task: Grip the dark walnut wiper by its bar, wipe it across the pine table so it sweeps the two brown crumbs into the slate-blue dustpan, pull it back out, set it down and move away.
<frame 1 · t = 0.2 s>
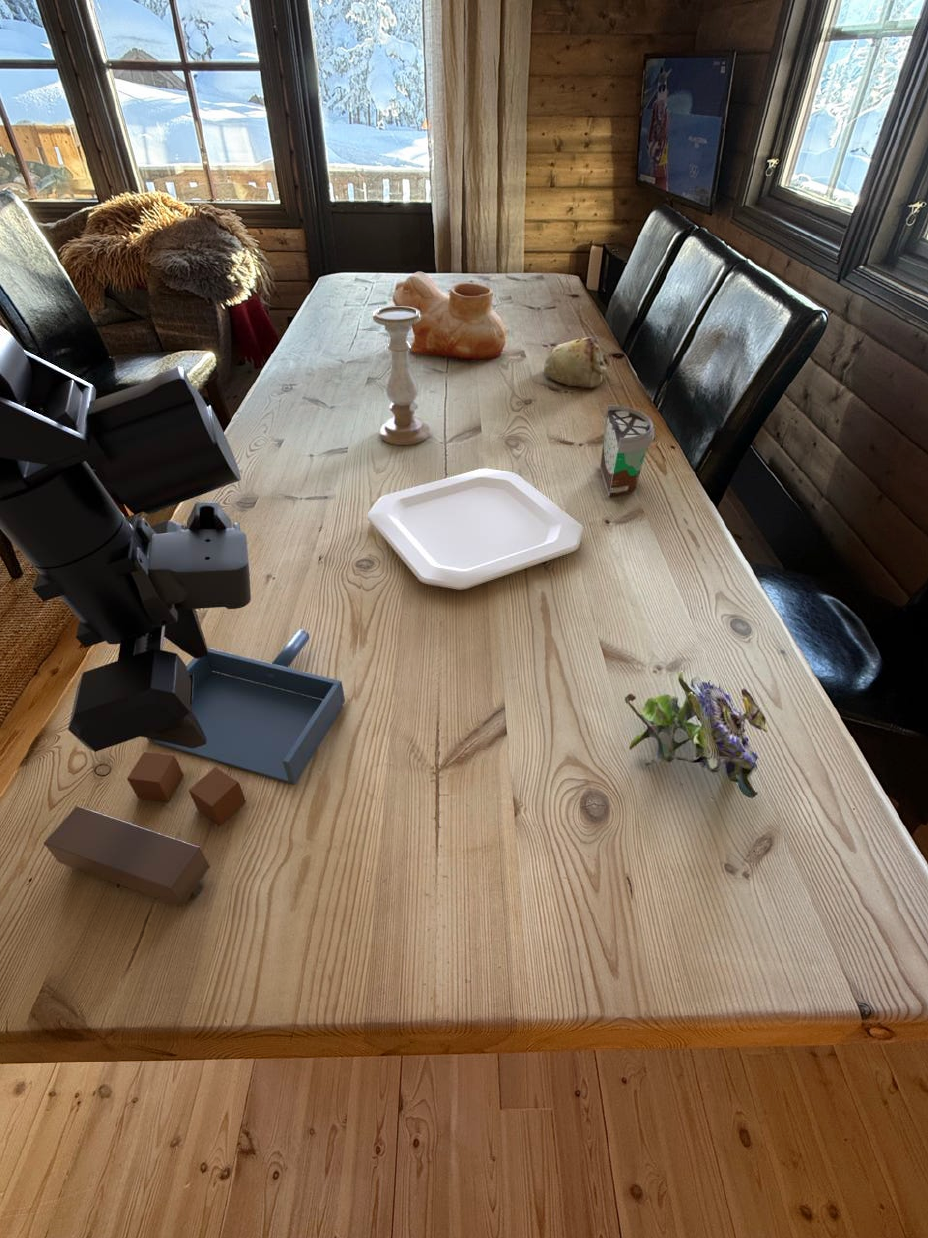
hand: (201, 697, 50), 14 cm above the table, tool pointing down, fingers open, 9 cm apart
dustpan: (248, 723, 66), on the table
plate: (473, 533, 92), on the table
crumb a: (161, 786, 61), on the table
crumb b: (221, 805, 59), on the table
ceramic vessel: (450, 349, 149), on the table
wiper: (138, 870, 54), on the table
pastry: (573, 377, 136), on the table
food container: (623, 482, 103), on the table
passion flower: (684, 762, 63), on the table
candle holder: (405, 435, 116), on the table
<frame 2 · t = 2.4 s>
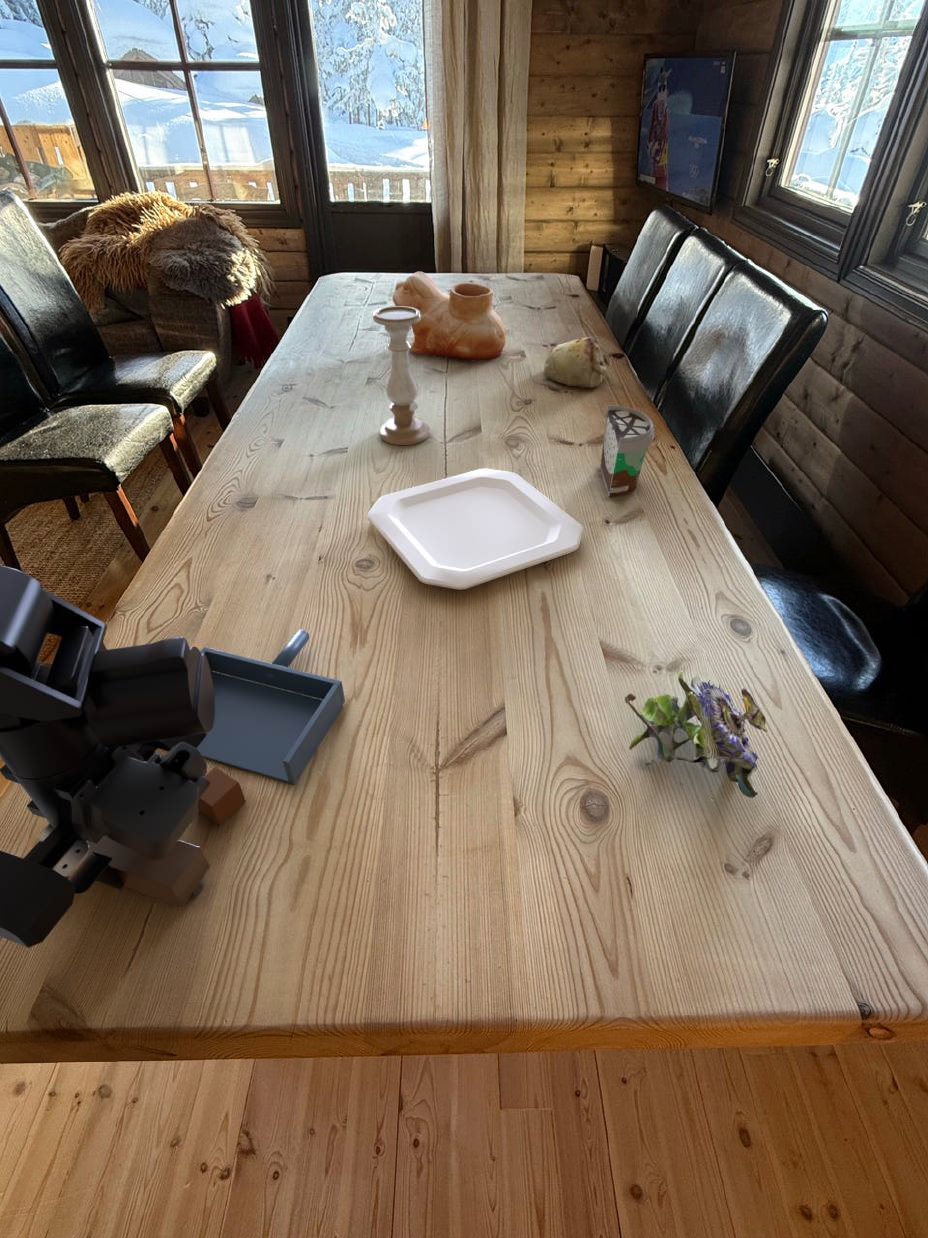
hand: (133, 864, 54), 1 cm above the table, tool pointing down, fingers closed on wiper, 3 cm apart
wiper: (138, 870, 54), on the table, touching gripper
everything else where it was.
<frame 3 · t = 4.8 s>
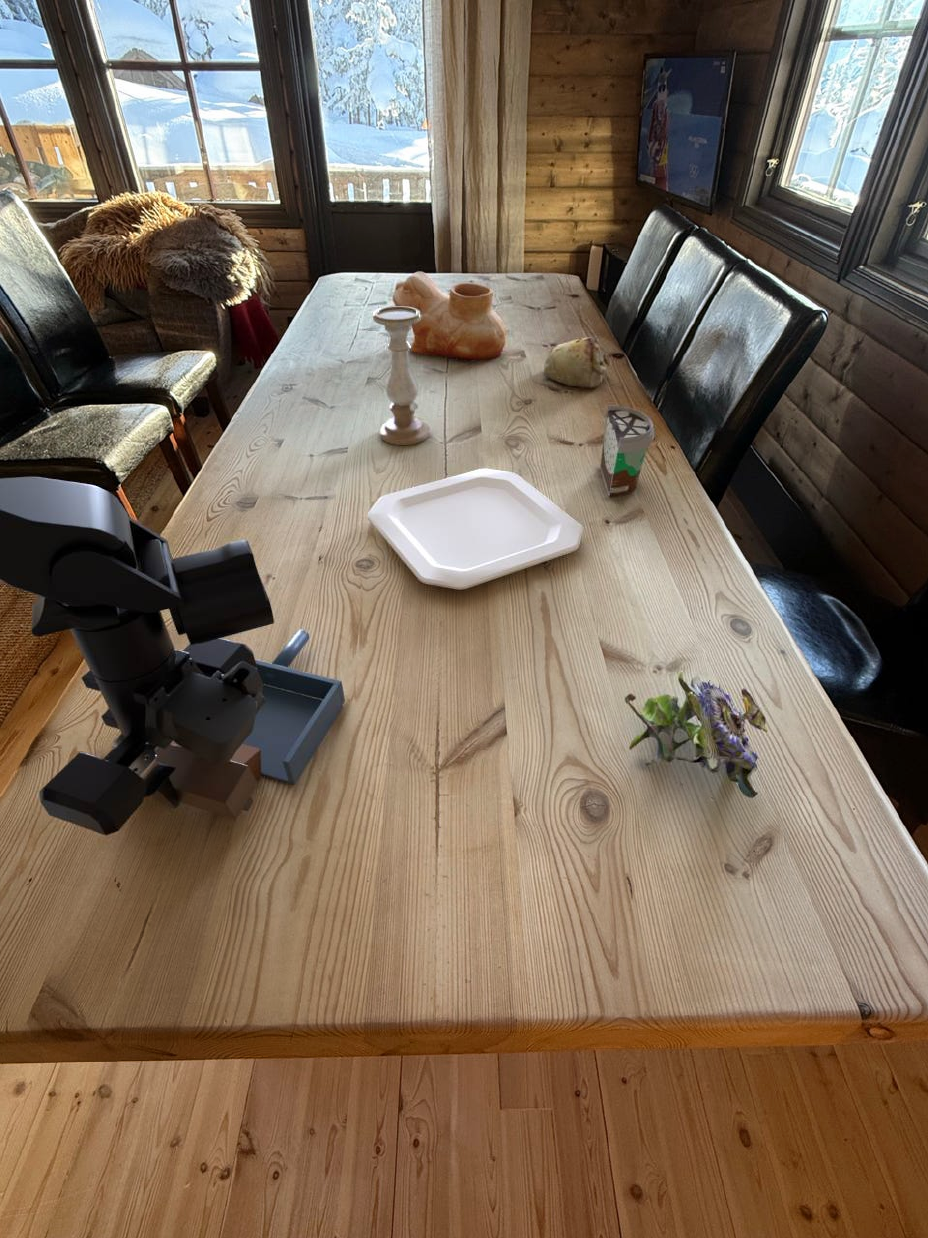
hand: (188, 786, 58), 2 cm above the table, tool pointing down, fingers closed on wiper, 4 cm apart
crumb a: (179, 763, 62), on the table, tilted 16°, touching dustpan, wiper
crumb b: (237, 780, 60), point 1 cm above the table, tilted 20°, touching wiper
wiper: (192, 789, 59), point 1 cm above the table, tilted 8°, touching crumb a, crumb b, gripper
everything else where it was.
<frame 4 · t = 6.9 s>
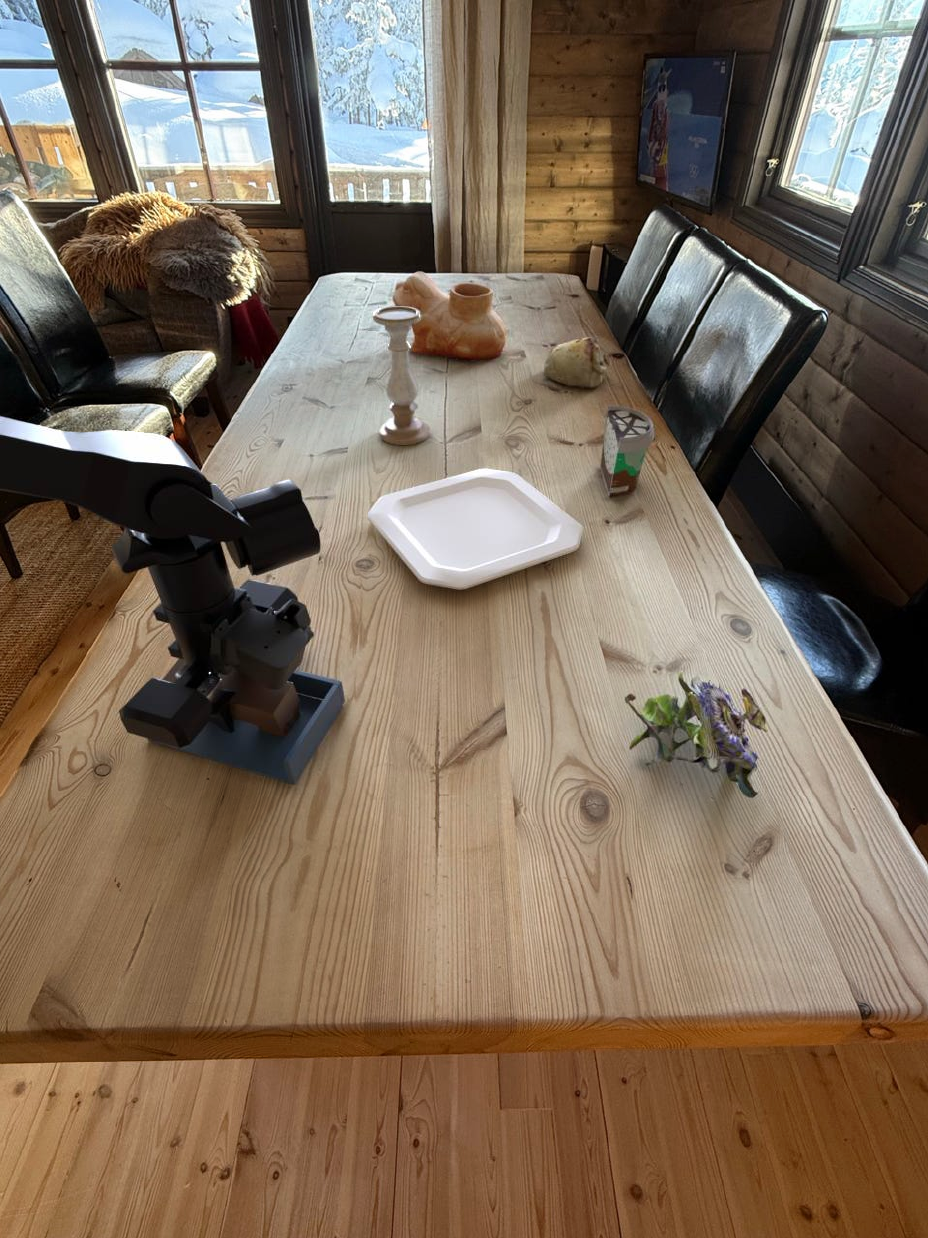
hand: (239, 717, 64), 2 cm above the table, tool pointing down, fingers closed on wiper, 3 cm apart
crumb a: (211, 707, 65), point 2 cm above the table, tilted 90°, touching dustpan, wiper
crumb b: (268, 723, 64), point 2 cm above the table, tilted 90°, touching dustpan, wiper
wiper: (238, 707, 63), point 3 cm above the table, tilted 7°, touching crumb a, crumb b, gripper
everything else where it was.
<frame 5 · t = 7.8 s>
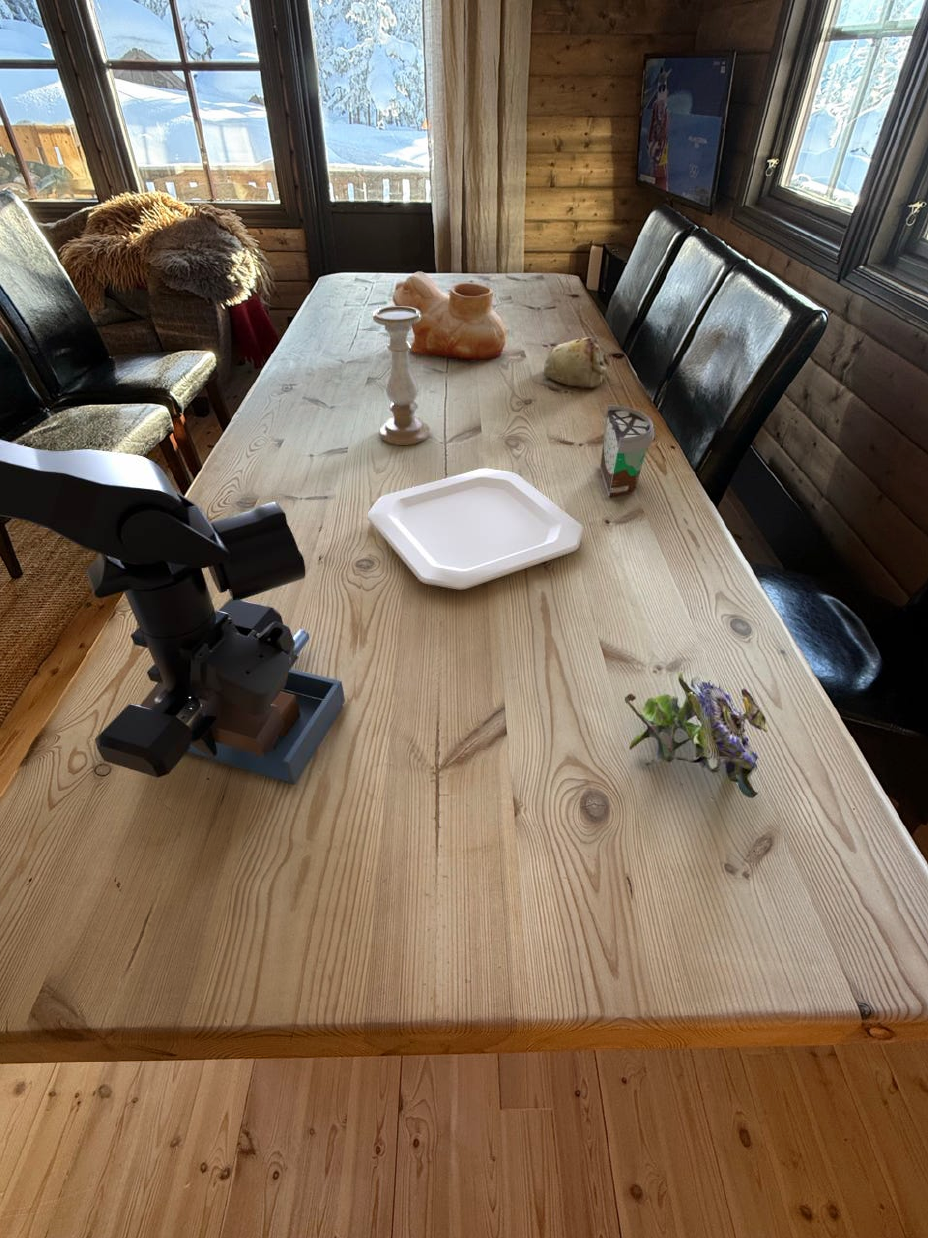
hand: (222, 739, 63), 2 cm above the table, tool pointing down, fingers closed on wiper, 3 cm apart
crumb a: (211, 707, 65), point 2 cm above the table, tilted 90°, touching dustpan
crumb b: (268, 723, 64), point 2 cm above the table, tilted 90°, touching dustpan
wiper: (221, 730, 62), point 3 cm above the table, tilted 7°, touching gripper
everything else where it was.
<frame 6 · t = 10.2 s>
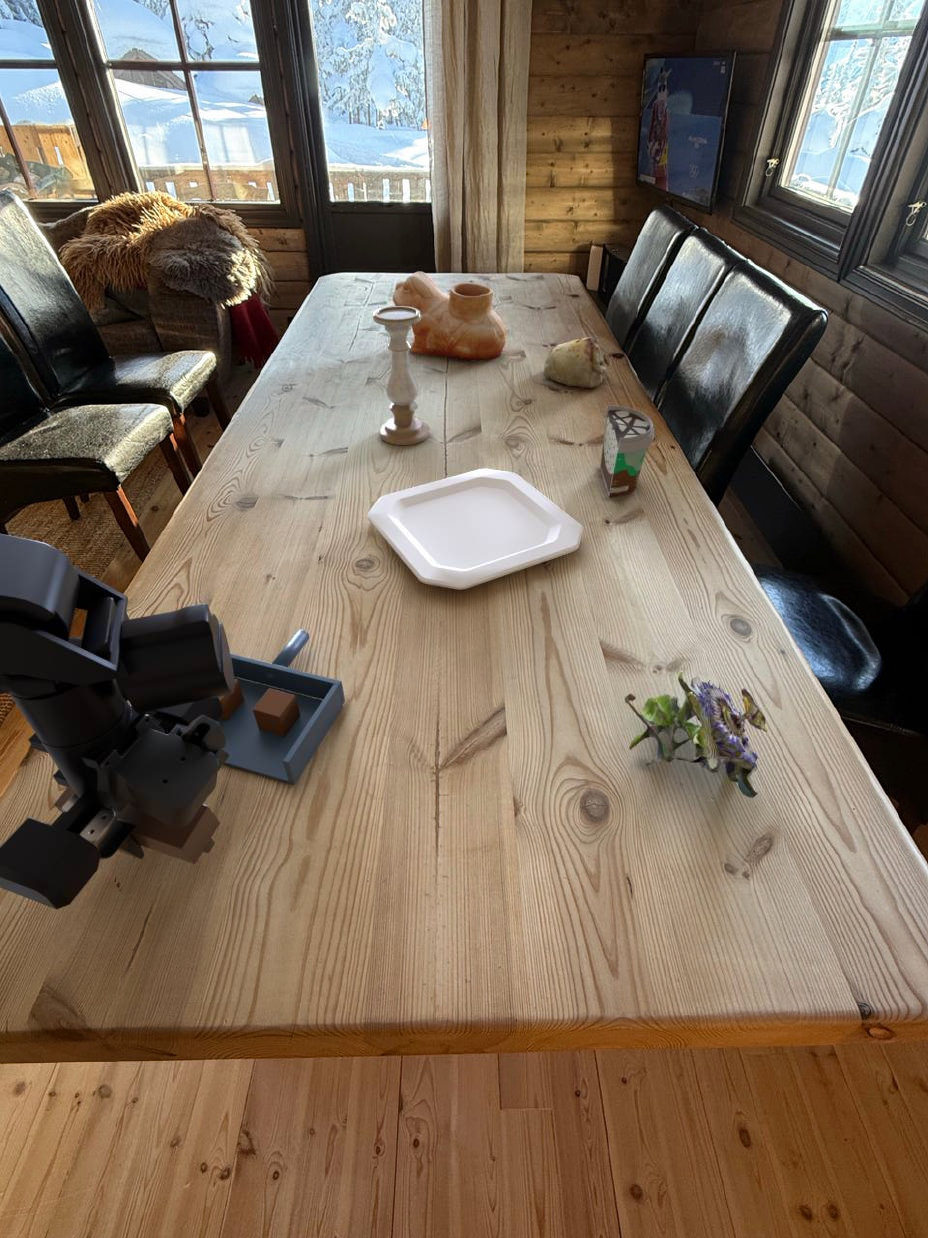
hand: (152, 837, 55), 1 cm above the table, tool pointing down, fingers closed on wiper, 3 cm apart
wiper: (150, 827, 55), point 2 cm above the table, tilted 8°, touching gripper
everything else where it was.
when the fingers open (0 cm above the table, at t = 12.1 s): wiper stays where it is and tips over, on the table.
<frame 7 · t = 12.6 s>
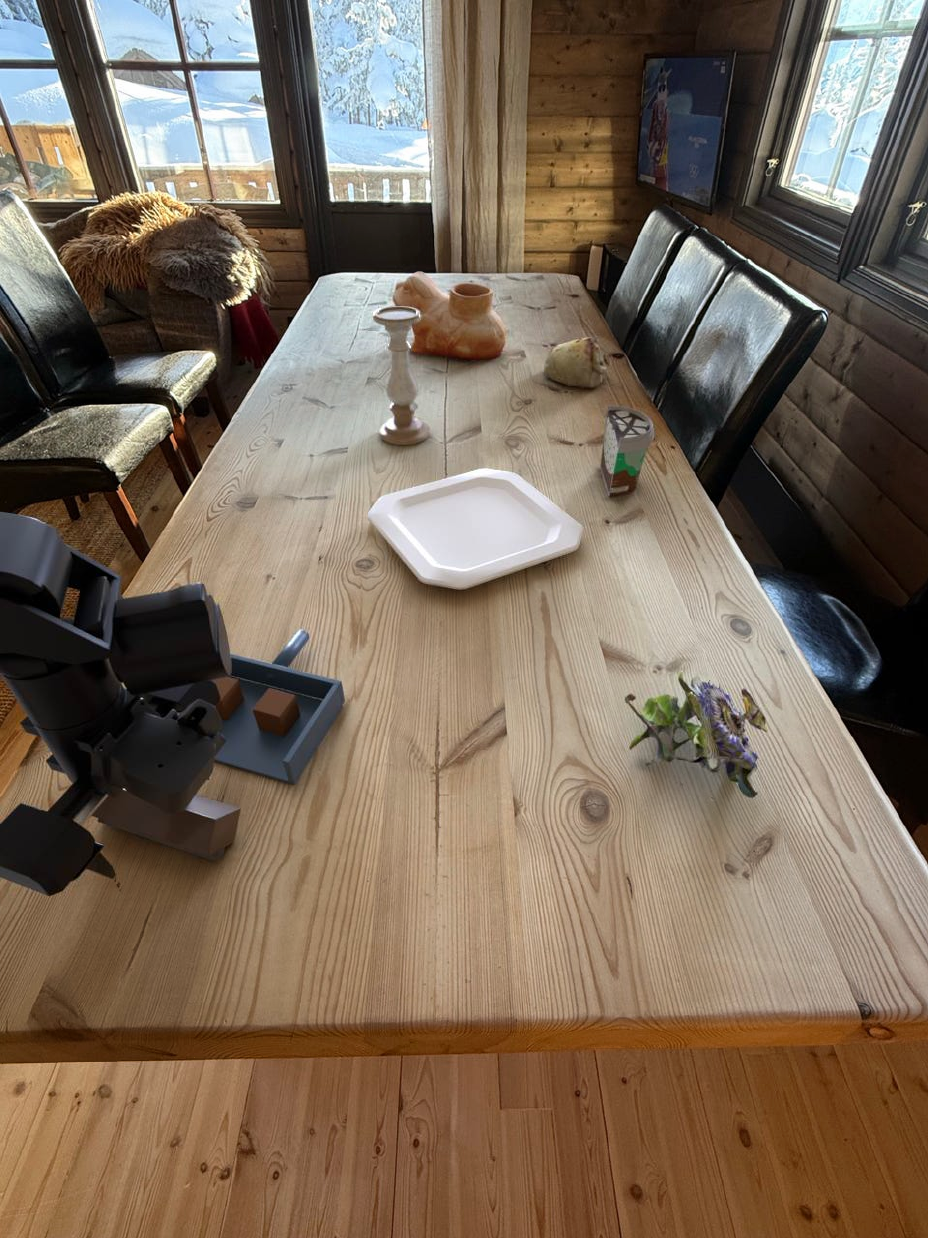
hand: (148, 825, 54), 3 cm above the table, tool pointing down, fingers open, 9 cm apart
wiper: (158, 840, 56), on the table, tilted 41°
everything else where it was.
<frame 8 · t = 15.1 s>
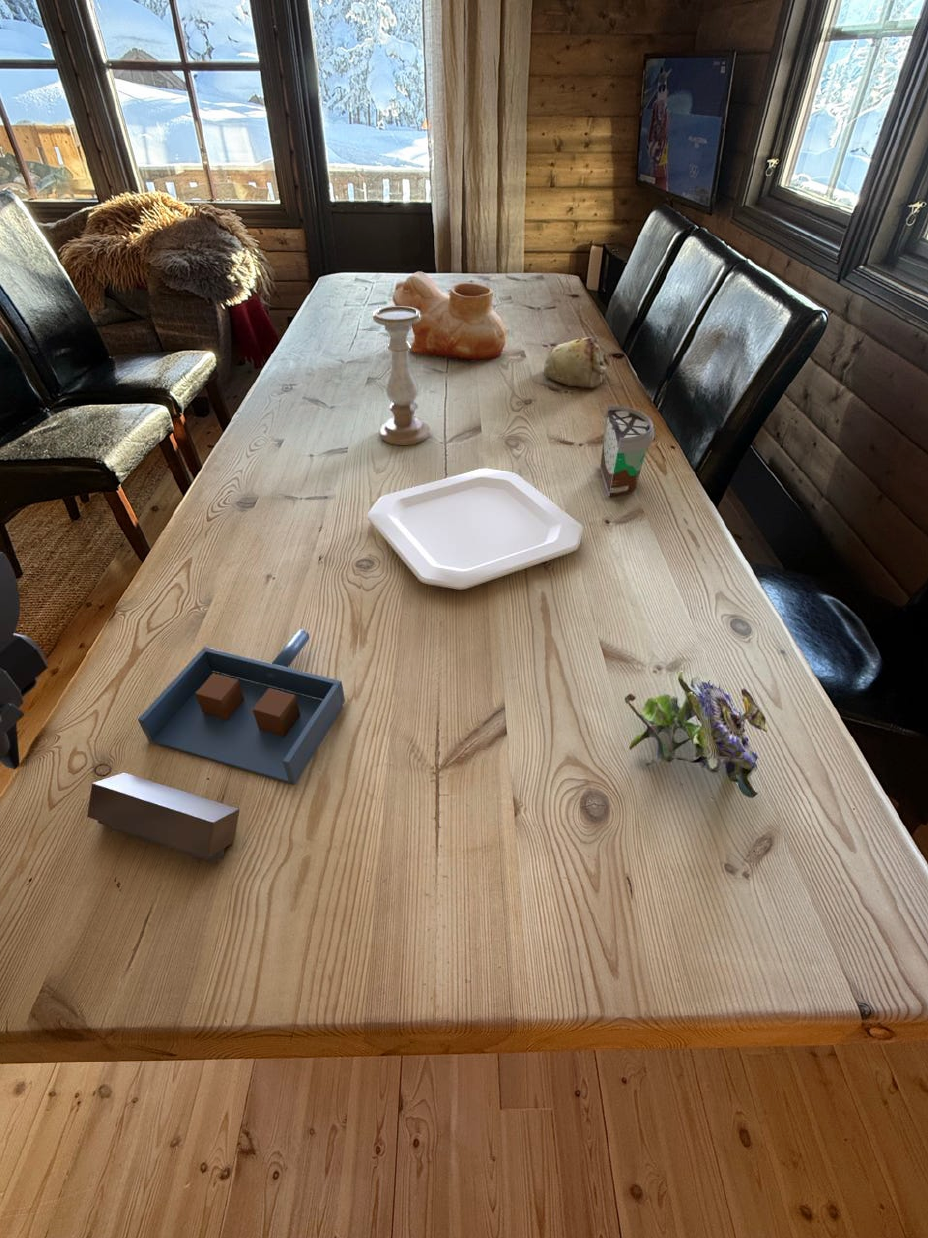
nothing on the table moved.
at the end: crumb a inside the target area in the dustpan (3.4 cm from its centre), point 1.8 cm above the dustpan's base; crumb b inside the target area in the dustpan (3.1 cm from its centre), point 1.8 cm above the dustpan's base; food container moved 0.2 cm from its start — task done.
